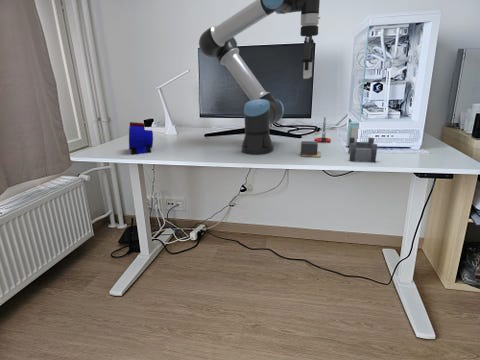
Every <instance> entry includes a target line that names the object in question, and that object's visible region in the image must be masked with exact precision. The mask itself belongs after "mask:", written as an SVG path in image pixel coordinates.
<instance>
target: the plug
mask: <svg viewBox="0 0 480 360" xmlns="http://www.w3.org/2000/svg"><path fill="white" fill-rule="evenodd" d="M318 145H319V143H318V142H317V141H315V140H311V141H309V140H302V141H301V143H300V155H301V156H302V155H317V151H318V148H319V147H318Z"/></svg>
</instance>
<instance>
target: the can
mask: <svg viewBox="0 0 480 360" xmlns="http://www.w3.org/2000/svg"><path fill="white" fill-rule="evenodd" d="M358 129H359V123H358V122H357V120H356V121H354V120H353V121H349V124H348V125H347V134H346V135H347V137H346V147H348V146H349V139H350V137H354V138H355V140H354V142H357V139H358Z"/></svg>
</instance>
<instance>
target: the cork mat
mask: <svg viewBox="0 0 480 360" xmlns="http://www.w3.org/2000/svg"><path fill="white" fill-rule="evenodd" d="M321 157H322V151H318V150H317V155H301V158H317V159H319V158H321Z"/></svg>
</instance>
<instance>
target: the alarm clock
mask: <svg viewBox="0 0 480 360" xmlns="http://www.w3.org/2000/svg"><path fill="white" fill-rule="evenodd" d="M145 126H146V124H145V122H132V121H131V122H129V128H128V149H129V151H131V156H135V155H143V154H150V153H151V154H152V148H153V143H154V133H153V130H152V129H151V130H150V129H145V128H146V127H145Z"/></svg>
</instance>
